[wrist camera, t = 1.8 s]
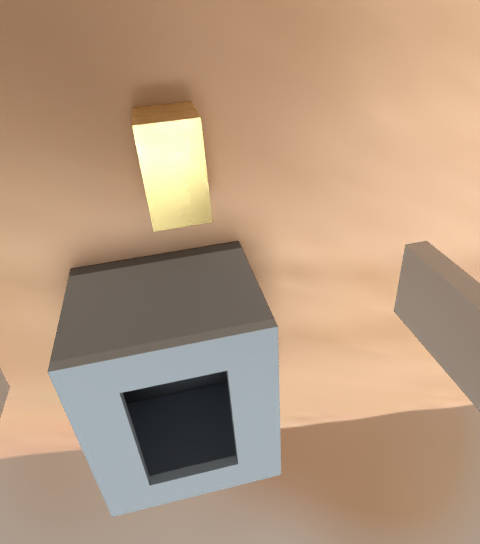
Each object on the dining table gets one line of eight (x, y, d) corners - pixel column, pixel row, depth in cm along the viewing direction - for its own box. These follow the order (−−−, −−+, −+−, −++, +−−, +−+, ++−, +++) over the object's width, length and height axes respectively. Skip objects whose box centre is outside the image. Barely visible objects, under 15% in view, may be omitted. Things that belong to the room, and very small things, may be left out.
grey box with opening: (70, 268, 29) (47, 372, 21) (238, 241, 31) (277, 326, 23) (115, 402, 37) (112, 516, 29) (248, 374, 39) (281, 474, 31)
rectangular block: (131, 107, 25) (132, 126, 21) (190, 100, 26) (200, 117, 22) (150, 201, 28) (153, 231, 25) (202, 194, 29) (212, 222, 25)
